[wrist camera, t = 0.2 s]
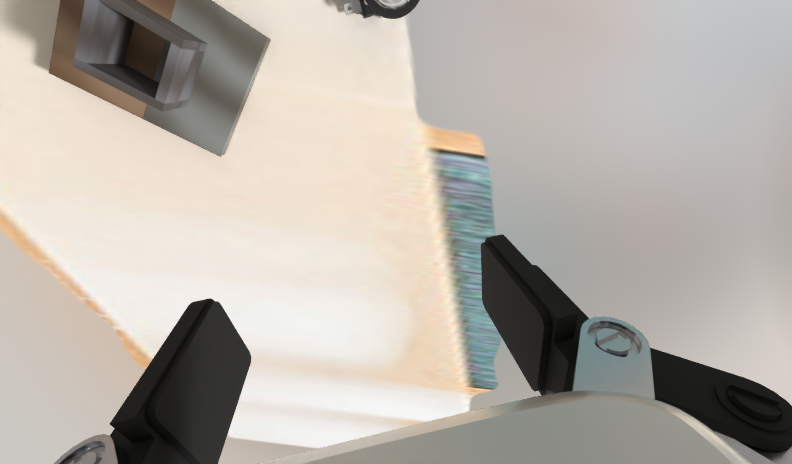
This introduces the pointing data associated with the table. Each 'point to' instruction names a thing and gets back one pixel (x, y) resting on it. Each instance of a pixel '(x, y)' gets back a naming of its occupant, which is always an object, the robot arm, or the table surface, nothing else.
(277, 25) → the table surface
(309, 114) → the table surface
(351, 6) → the push button
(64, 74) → the base with square socket
